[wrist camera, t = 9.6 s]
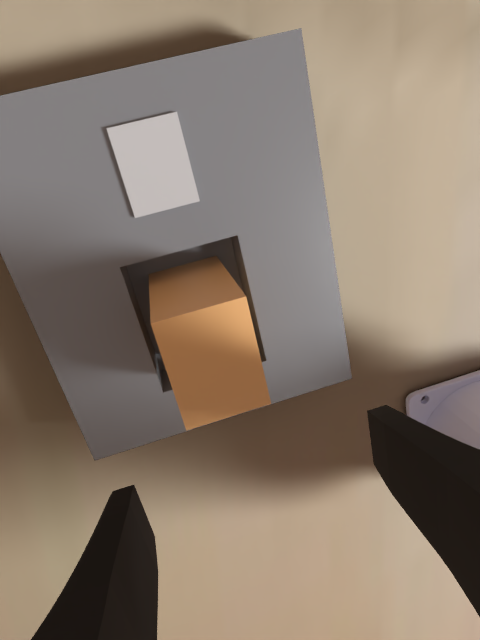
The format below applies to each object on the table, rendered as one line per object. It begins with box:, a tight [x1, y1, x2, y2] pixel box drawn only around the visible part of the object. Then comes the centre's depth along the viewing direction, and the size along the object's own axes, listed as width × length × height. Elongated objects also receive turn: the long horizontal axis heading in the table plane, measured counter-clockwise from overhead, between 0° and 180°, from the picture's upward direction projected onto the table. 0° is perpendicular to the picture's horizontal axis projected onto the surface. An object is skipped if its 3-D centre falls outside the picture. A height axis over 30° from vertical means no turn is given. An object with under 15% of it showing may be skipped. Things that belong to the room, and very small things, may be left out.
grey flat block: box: [0, 28, 352, 460], centre depth 18 cm, size 12×14×3 cm
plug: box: [148, 256, 271, 431], centre depth 17 cm, size 3×4×6 cm
